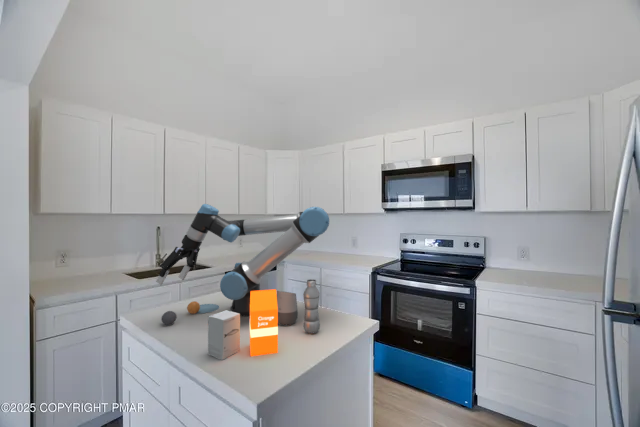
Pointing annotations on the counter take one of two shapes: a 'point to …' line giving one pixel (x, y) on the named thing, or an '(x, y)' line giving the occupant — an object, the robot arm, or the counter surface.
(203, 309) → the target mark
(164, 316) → the dark grey ball
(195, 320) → the counter surface
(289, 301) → the smart speaker
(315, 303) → the plastic bottle
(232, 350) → the supplement box
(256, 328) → the orange juice
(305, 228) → the robot arm
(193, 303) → the object ball
